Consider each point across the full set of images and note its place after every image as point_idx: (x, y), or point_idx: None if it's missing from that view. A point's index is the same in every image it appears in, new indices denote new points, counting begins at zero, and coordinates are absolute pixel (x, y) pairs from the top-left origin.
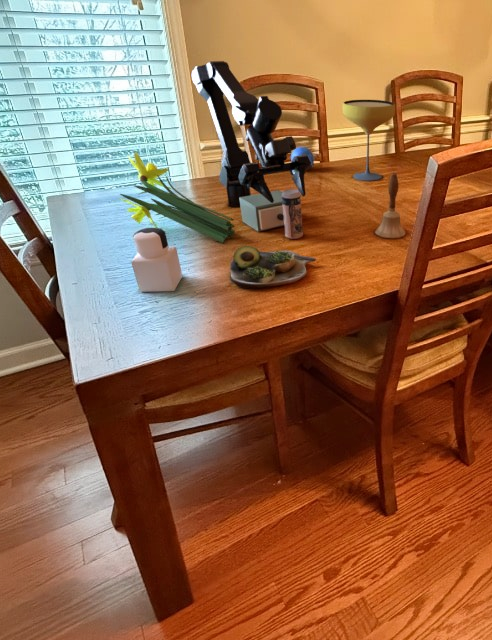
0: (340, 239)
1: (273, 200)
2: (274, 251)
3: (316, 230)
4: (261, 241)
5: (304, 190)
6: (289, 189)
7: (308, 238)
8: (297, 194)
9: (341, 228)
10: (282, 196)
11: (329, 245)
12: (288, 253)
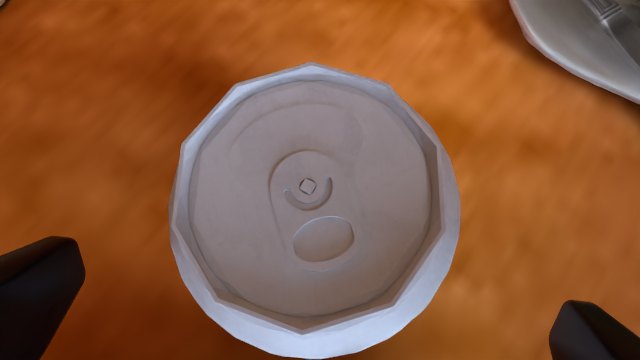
0: (172, 63)
1: (576, 302)
2: (599, 76)
3: (163, 248)
4: (538, 339)
5: (4, 259)
6: (244, 308)
7: None
8: (279, 76)
9: (44, 173)
10: (456, 233)
11: (268, 42)
12: (543, 16)
